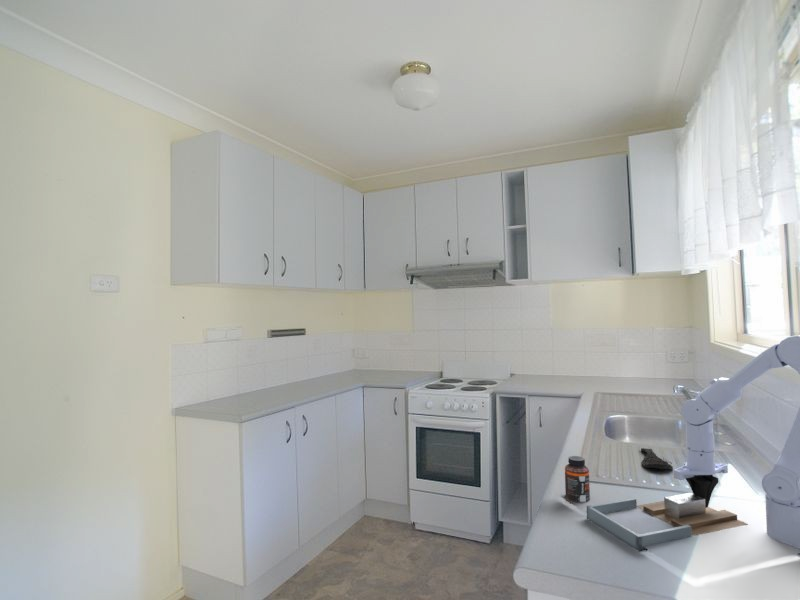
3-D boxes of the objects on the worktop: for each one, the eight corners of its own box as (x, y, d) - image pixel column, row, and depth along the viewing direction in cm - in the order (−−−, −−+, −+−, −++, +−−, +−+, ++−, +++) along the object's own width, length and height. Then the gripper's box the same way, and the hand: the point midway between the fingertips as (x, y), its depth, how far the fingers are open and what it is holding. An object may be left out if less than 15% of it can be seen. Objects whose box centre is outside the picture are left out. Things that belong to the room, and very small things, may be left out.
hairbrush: (657, 443, 161) (676, 462, 138) (658, 454, 161) (677, 475, 137) (631, 441, 164) (645, 460, 140) (632, 452, 164) (646, 472, 140)
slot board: (748, 528, 104) (747, 519, 104) (693, 540, 99) (692, 530, 99) (685, 501, 119) (685, 493, 119) (635, 509, 114) (635, 501, 114)
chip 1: (692, 518, 107) (692, 501, 107) (679, 521, 106) (678, 503, 106) (678, 511, 111) (677, 494, 111) (664, 514, 109) (664, 497, 110)
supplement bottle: (590, 507, 116) (589, 462, 117) (565, 504, 118) (564, 460, 119) (589, 498, 122) (588, 455, 122) (565, 495, 124) (564, 453, 124)
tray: (691, 540, 99) (691, 526, 99) (639, 551, 95) (638, 536, 95) (634, 510, 114) (633, 498, 114) (586, 518, 110) (586, 506, 110)
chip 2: (705, 516, 108) (705, 498, 108) (692, 518, 107) (691, 501, 107) (690, 509, 112) (690, 492, 112) (677, 511, 111) (677, 494, 111)
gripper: (707, 441, 116) (709, 495, 116) (662, 447, 112) (664, 503, 112) (735, 449, 110) (737, 506, 109) (687, 455, 106) (689, 515, 105)
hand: (702, 505), depth 110 cm, fingers closed
